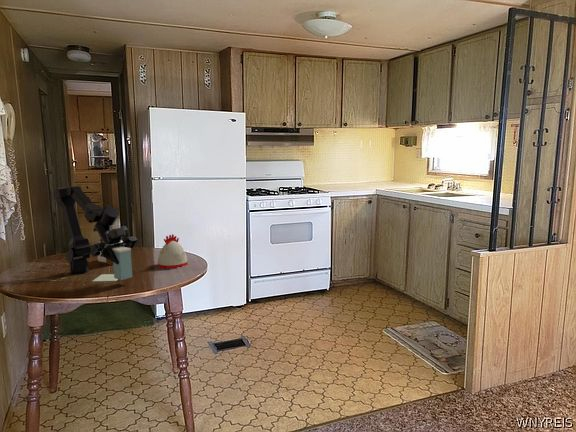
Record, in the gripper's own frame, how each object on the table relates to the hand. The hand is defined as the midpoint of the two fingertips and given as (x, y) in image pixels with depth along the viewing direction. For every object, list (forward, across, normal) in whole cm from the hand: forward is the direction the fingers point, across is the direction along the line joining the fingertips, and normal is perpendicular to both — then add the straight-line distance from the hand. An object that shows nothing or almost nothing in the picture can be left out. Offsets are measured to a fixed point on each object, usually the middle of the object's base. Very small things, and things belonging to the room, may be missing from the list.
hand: (124, 262), depth 171 cm
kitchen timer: (+1, +32, +13) cm, 34 cm away
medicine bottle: (-24, +20, +38) cm, 49 cm away
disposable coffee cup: (-18, +18, +32) cm, 41 cm away
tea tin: (+4, 0, +6) cm, 7 cm away
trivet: (-4, +2, +18) cm, 18 cm away
